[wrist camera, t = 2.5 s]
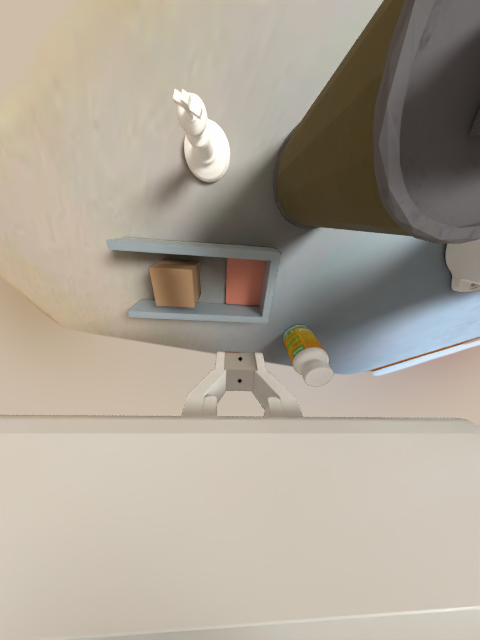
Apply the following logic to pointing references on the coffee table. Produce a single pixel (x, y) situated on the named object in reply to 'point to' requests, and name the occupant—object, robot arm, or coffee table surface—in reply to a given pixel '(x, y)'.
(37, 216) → the coffee table surface
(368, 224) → the canister
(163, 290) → the walnut cube
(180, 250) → the channel
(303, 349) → the supplement bottle
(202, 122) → the chess piece
